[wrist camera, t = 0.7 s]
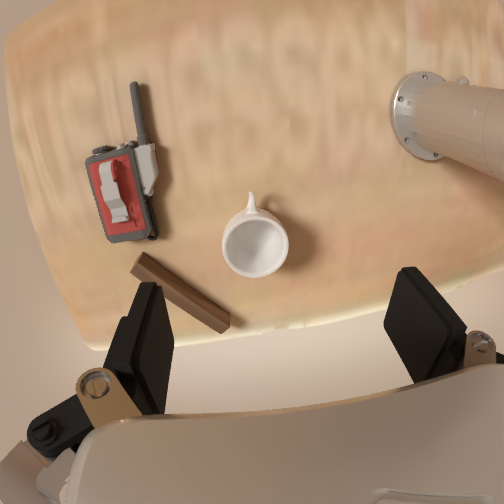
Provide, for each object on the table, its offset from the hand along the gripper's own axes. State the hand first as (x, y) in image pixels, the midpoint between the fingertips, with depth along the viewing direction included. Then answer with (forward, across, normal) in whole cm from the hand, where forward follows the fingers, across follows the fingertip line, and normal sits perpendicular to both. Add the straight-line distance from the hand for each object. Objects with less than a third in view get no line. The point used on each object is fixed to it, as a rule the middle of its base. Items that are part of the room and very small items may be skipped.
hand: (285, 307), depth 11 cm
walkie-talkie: (+27, +15, -1) cm, 31 cm away
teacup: (+27, -1, +8) cm, 28 cm away
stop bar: (+27, +9, +18) cm, 33 cm away
